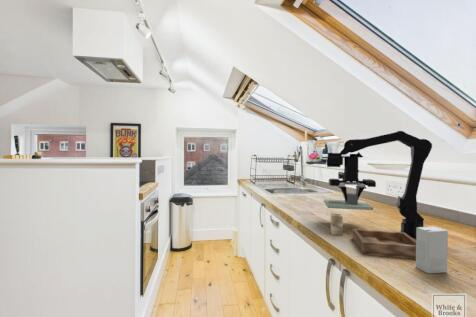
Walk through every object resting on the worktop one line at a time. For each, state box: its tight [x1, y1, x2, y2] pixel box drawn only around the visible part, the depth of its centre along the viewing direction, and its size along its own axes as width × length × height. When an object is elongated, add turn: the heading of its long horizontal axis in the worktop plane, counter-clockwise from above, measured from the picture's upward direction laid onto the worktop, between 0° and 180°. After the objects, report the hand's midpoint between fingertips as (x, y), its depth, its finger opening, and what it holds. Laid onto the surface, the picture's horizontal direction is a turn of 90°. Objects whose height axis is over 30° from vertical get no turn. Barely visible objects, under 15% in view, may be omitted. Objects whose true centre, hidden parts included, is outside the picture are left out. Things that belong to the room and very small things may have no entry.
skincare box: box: [415, 226, 449, 274], centre depth 66 cm, size 6×4×12 cm
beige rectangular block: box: [330, 212, 344, 237], centre depth 96 cm, size 4×4×8 cm
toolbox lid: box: [323, 192, 374, 211], centre depth 105 cm, size 18×14×5 cm
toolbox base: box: [351, 228, 416, 260], centre depth 81 cm, size 18×14×4 cm
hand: (351, 201), depth 105 cm, fingers closed on toolbox lid, 4 cm apart
